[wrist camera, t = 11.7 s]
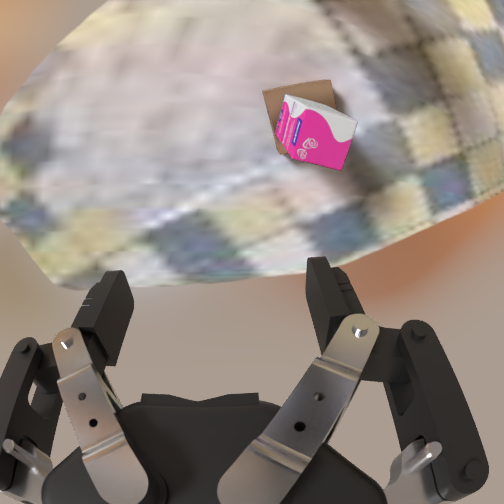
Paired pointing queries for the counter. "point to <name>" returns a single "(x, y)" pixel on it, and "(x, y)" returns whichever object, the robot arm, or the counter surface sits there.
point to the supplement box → (315, 132)
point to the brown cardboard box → (308, 90)
